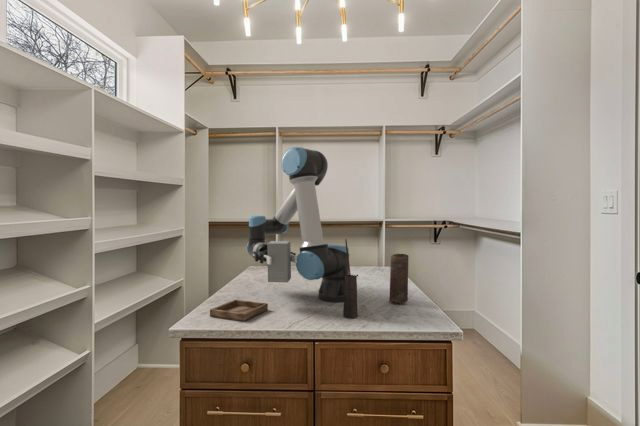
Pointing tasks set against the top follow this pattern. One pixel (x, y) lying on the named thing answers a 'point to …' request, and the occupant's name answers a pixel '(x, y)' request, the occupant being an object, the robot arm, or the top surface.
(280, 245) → the skincare box
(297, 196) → the robot arm
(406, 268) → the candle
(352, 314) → the butter churn
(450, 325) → the top surface
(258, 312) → the walnut tray
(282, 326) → the top surface
